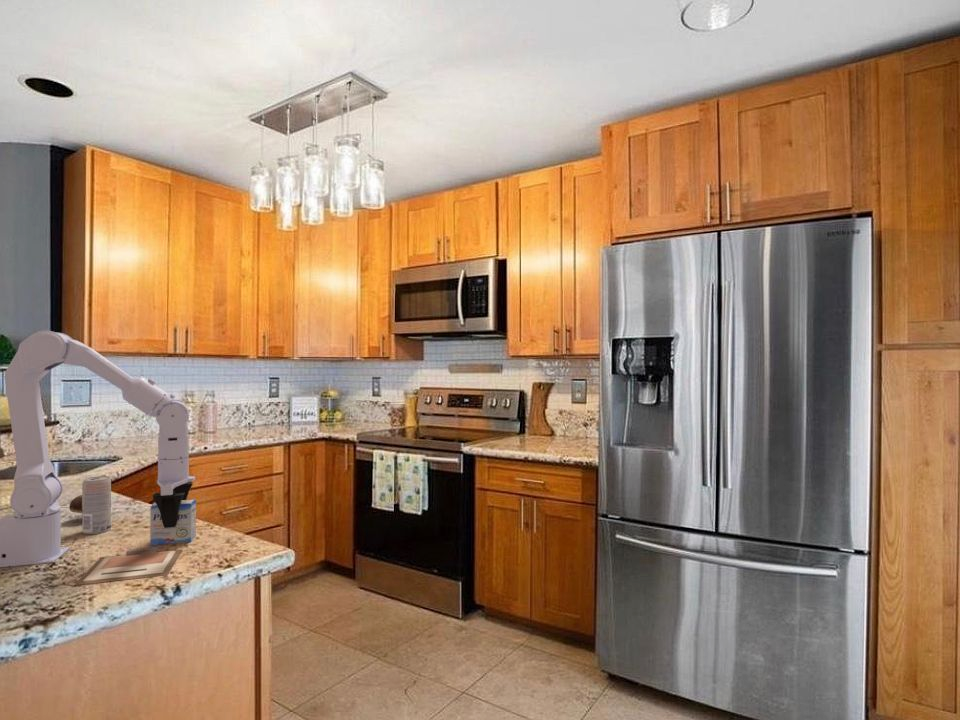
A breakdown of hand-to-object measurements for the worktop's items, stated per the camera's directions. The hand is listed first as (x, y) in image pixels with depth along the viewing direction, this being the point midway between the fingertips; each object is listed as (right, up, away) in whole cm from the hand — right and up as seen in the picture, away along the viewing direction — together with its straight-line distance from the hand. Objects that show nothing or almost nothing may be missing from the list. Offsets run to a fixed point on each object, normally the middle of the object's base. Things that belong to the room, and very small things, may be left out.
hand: (173, 521), depth 119 cm
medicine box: (0, -5, 0) cm, 5 cm away
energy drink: (-22, -5, +8) cm, 23 cm away
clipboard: (+1, -4, -16) cm, 16 cm away
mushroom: (-30, -5, +17) cm, 34 cm away
